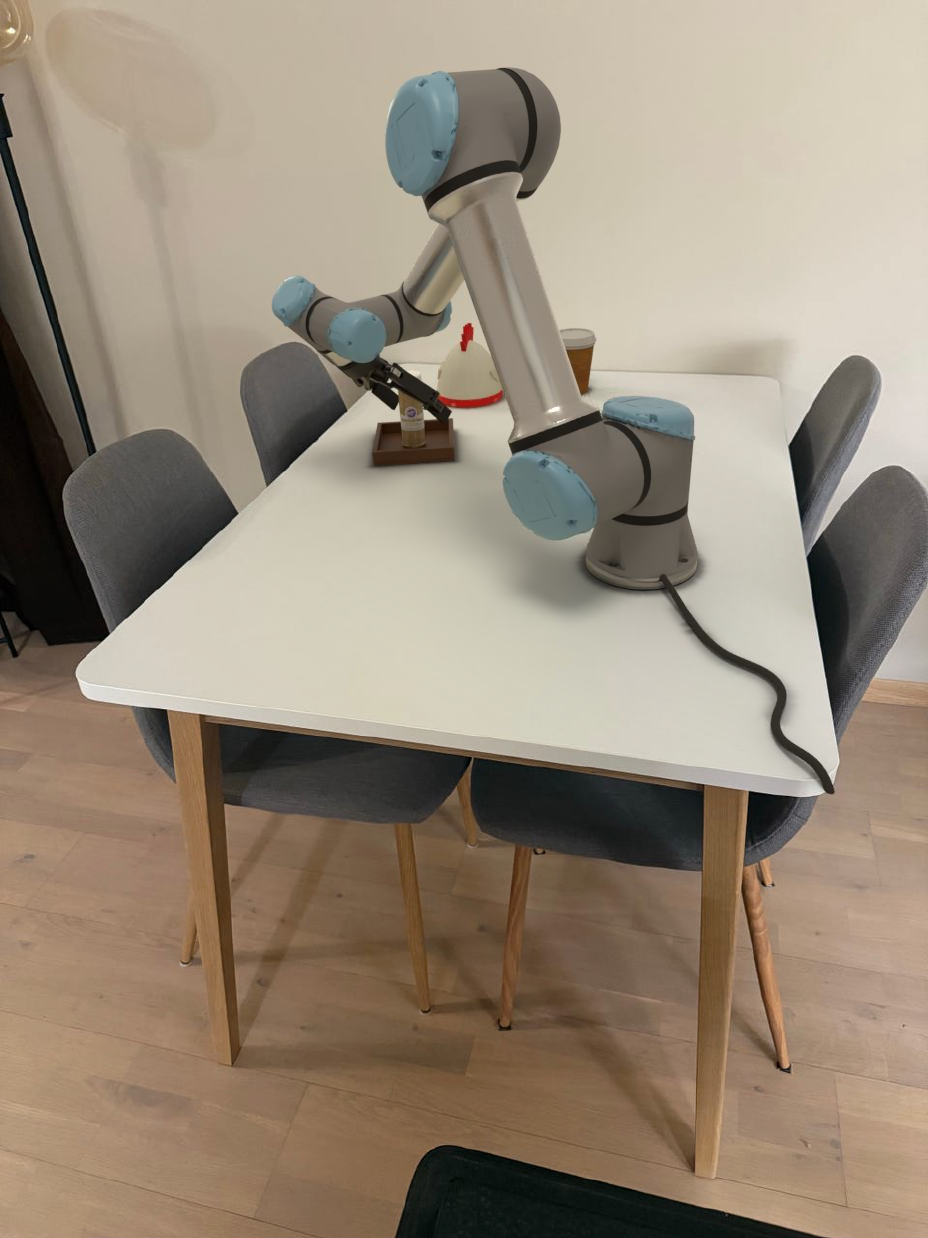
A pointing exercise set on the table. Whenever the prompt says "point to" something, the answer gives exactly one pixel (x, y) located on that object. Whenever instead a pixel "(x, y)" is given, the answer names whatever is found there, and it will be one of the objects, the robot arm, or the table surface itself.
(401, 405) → the sprinkles bottle
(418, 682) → the table surface
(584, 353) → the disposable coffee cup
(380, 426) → the wooden tray
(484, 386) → the kitchen timer
